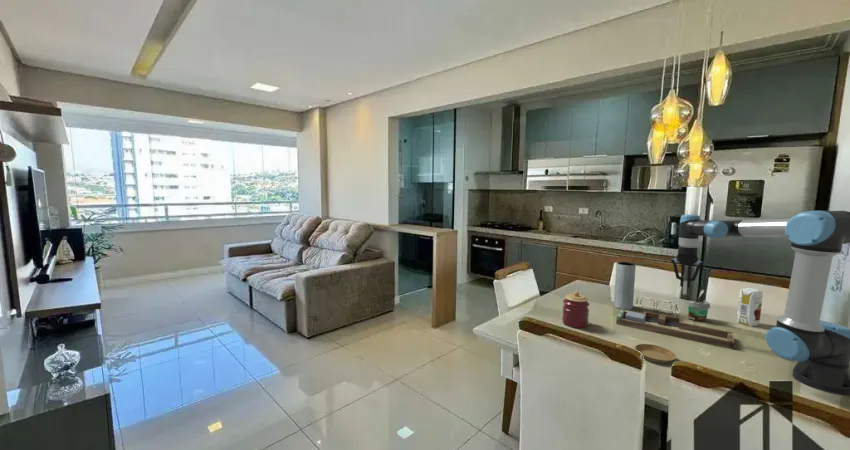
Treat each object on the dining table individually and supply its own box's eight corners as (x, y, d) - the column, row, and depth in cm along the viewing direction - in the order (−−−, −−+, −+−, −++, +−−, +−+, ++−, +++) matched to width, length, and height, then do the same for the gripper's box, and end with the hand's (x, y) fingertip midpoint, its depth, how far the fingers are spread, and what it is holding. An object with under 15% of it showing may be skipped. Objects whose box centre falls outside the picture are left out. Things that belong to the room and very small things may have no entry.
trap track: (733, 349, 155) (734, 340, 154) (616, 323, 184) (616, 316, 183) (729, 333, 173) (730, 325, 172) (623, 312, 201) (623, 305, 201)
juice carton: (734, 322, 187) (737, 288, 185) (744, 320, 190) (747, 286, 188) (751, 327, 180) (755, 292, 178) (761, 325, 183) (765, 290, 181)
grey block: (642, 328, 179) (642, 318, 179) (624, 324, 184) (625, 315, 184) (644, 323, 185) (645, 314, 184) (628, 319, 190) (628, 311, 190)
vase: (610, 305, 213) (612, 262, 210) (622, 303, 216) (625, 261, 213) (623, 310, 204) (626, 265, 201) (636, 308, 207) (639, 264, 204)
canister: (593, 326, 180) (595, 293, 178) (575, 330, 176) (576, 296, 174) (574, 317, 192) (576, 287, 190) (556, 321, 188) (558, 289, 186)
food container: (697, 323, 184) (699, 305, 183) (686, 319, 190) (687, 302, 189) (714, 321, 188) (716, 303, 187) (702, 317, 194) (704, 300, 192)
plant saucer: (677, 356, 148) (678, 351, 148) (673, 370, 138) (673, 363, 137) (638, 346, 158) (638, 340, 158) (631, 357, 147) (631, 352, 147)
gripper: (704, 246, 166) (701, 294, 169) (671, 244, 174) (668, 289, 177) (705, 248, 160) (701, 298, 163) (671, 246, 168) (667, 293, 171)
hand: (684, 293), depth 170 cm, fingers closed
